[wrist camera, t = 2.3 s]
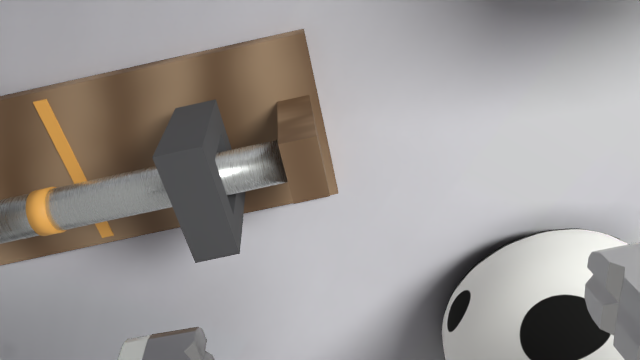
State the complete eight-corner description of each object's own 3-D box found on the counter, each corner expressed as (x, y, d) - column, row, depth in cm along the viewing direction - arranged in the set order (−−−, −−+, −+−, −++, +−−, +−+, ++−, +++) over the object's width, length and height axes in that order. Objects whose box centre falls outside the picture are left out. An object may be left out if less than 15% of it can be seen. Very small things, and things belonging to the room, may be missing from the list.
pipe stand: (303, 28, 30) (311, 63, 24) (336, 186, 35) (350, 248, 29) (-85, 115, 30) (-178, 171, 24) (6, 256, 36) (-51, 332, 30)
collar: (215, 99, 29) (201, 146, 24) (245, 192, 32) (239, 253, 27) (175, 108, 29) (152, 157, 24) (208, 200, 32) (195, 262, 27)
